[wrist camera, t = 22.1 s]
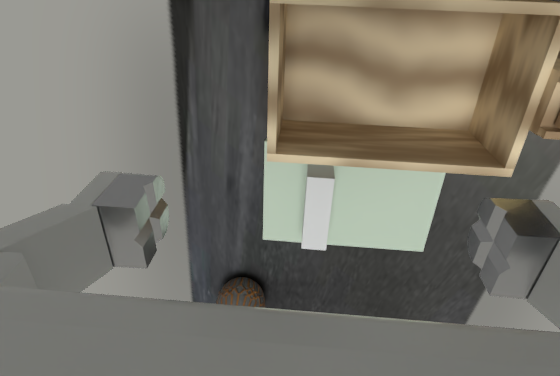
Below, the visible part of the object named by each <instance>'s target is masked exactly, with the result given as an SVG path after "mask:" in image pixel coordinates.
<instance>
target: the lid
mask: <svg viewBox="0 0 560 376" xmlns="http://www.w3.org/2000/svg"><path fill="white" fill-rule="evenodd" d="M445 174H446V173H441V172H425V171H410V170H394V169H378V168H363V167H347V166H331V165H316V164H300V163H284V162H269V161H267V139H265V146H264V202H263V240H276V241H289V242H302V247H301V249H314V250H326V246H327V244H328V245H341V246H355V247H368V248H381V249H394V250H407V251H420V252H423V250H424V246H425V243H426V239H427V236H428V232H429V229H430V225H431V222H432V219H433V215H434V212H435V208H436V205H437V201H438V198H439V194H440V191H441V187H442V184H443V181H444V177H445Z"/></svg>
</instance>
